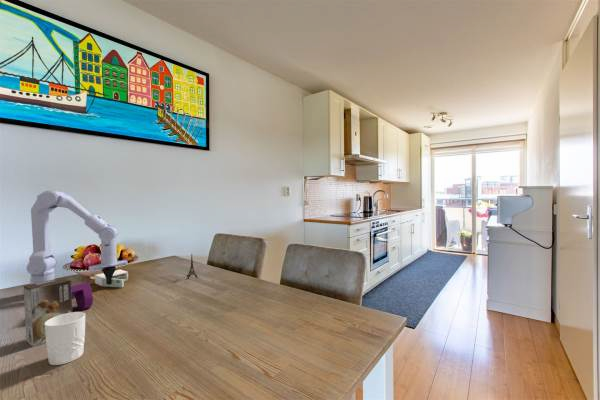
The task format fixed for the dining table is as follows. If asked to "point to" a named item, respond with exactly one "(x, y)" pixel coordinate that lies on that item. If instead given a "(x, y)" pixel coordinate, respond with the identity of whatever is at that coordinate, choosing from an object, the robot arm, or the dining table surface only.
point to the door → (113, 283)
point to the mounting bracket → (82, 295)
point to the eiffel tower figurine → (191, 269)
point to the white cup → (65, 337)
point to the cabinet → (117, 275)
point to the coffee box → (45, 306)
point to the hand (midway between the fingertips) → (109, 283)
